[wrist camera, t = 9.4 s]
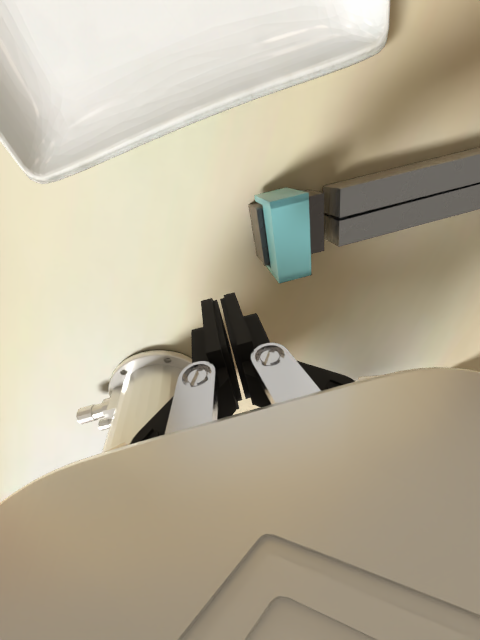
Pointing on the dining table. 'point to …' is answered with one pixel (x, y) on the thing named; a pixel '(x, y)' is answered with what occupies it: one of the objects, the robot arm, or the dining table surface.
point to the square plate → (157, 67)
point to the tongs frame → (376, 193)
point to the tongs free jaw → (401, 215)
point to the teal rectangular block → (287, 232)
